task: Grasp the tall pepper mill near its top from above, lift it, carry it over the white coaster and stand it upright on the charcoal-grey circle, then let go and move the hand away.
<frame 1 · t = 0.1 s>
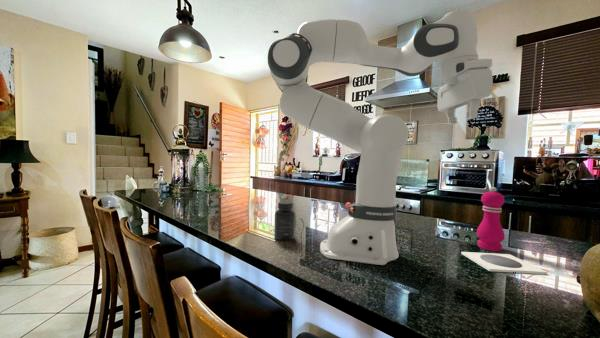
hand: (461, 121, 71), 39 cm above the kitchen island, tool pointing down, fingers open, 8 cm apart
supplement bottle: (284, 238, 84), on the kitchen island
pepper mill: (489, 248, 82), on the kitchen island
white coaster: (500, 263, 69), on the kitchen island
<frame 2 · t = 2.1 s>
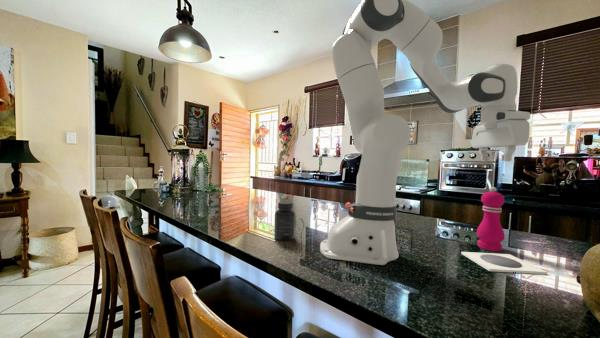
hand: (495, 161, 81), 28 cm above the kitchen island, tool pointing down, fingers open, 8 cm apart
nothing on the kitchen island moved.
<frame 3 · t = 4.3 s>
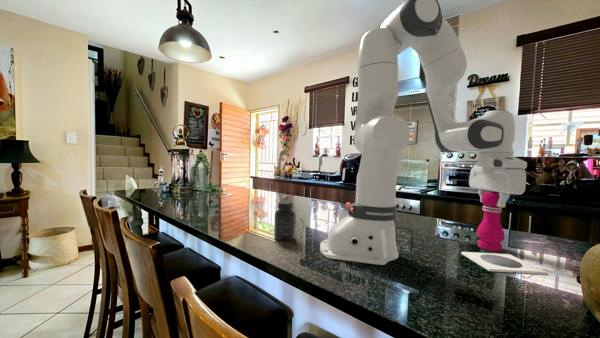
hand: (492, 204, 81), 14 cm above the kitchen island, tool pointing down, fingers closed on pepper mill, 6 cm apart
pepper mill: (489, 248, 82), on the kitchen island, touching gripper
everything else where it was.
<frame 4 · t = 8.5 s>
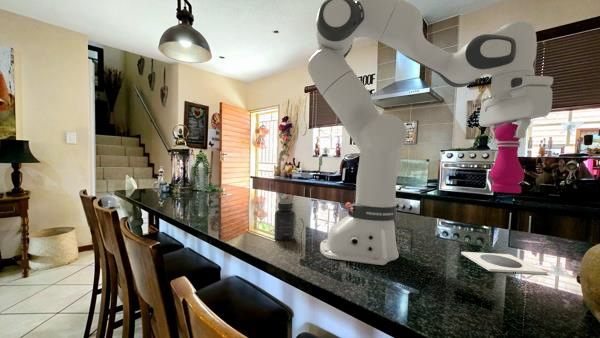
hand: (507, 139, 68), 34 cm above the kitchen island, tool pointing down, fingers closed on pepper mill, 6 cm apart
pepper mill: (505, 192, 68), point 20 cm above the kitchen island, touching gripper
everything else where it was.
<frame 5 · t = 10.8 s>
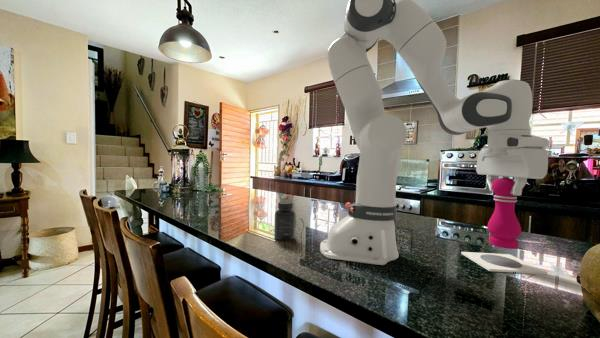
hand: (504, 193, 68), 19 cm above the kitchen island, tool pointing down, fingers closed on pepper mill, 6 cm apart
pepper mill: (503, 246, 69), point 5 cm above the kitchen island, touching gripper
everything else where it was.
when the fingers open (16 cm above the kitchen island, at t = 12.6 s): pepper mill drops 1 cm, resting on white coaster.
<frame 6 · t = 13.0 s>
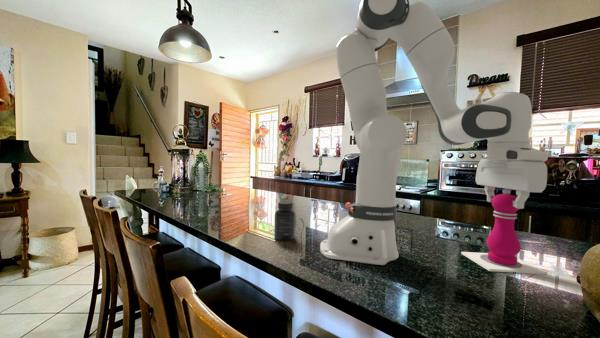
hand: (503, 205, 69), 16 cm above the kitchen island, tool pointing down, fingers open, 8 cm apart
pepper mill: (501, 262, 69), point 1 cm above the kitchen island, touching white coaster
everything else where it was.
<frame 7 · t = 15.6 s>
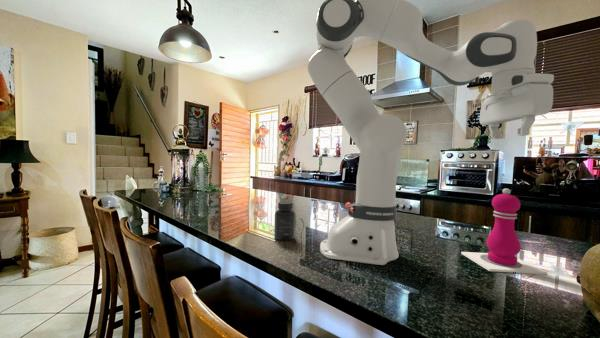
hand: (508, 137, 68), 35 cm above the kitchen island, tool pointing down, fingers open, 8 cm apart
nothing on the kitchen island moved.
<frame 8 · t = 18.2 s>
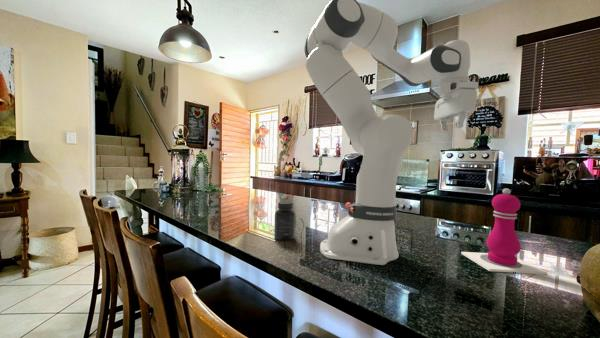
hand: (451, 129, 89), 39 cm above the kitchen island, tool pointing down, fingers open, 8 cm apart
nothing on the kitchen island moved.
at the end: pepper mill inside the target area on the white coaster (0.5 cm from its centre), point 0.5 cm above the white coaster's base; pepper mill tilted 0°; the gripper is holding nothing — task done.
